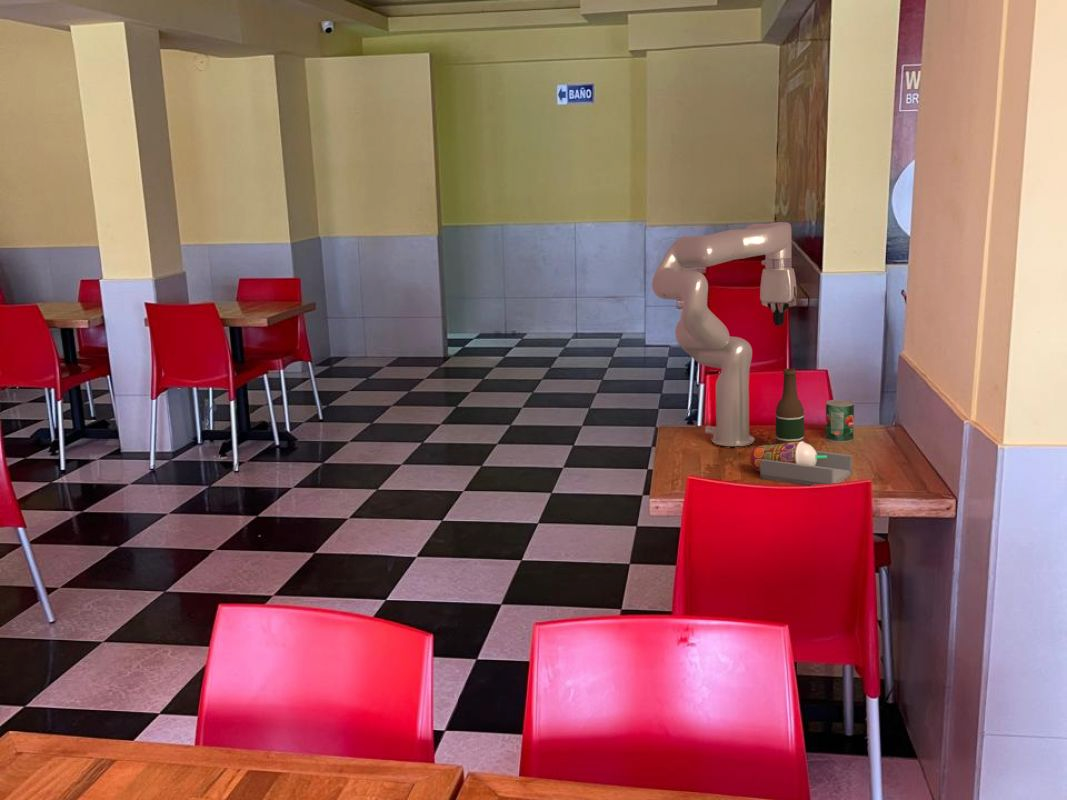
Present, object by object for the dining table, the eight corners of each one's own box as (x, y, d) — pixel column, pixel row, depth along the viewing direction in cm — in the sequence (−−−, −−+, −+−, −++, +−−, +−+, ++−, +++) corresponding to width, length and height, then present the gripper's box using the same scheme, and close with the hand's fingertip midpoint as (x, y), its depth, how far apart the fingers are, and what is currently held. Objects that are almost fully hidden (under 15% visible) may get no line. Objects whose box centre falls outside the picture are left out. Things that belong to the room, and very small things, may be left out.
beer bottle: (805, 449, 288) (805, 367, 282) (802, 457, 280) (803, 372, 275) (777, 448, 290) (777, 366, 285) (774, 455, 283) (774, 372, 278)
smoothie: (750, 438, 268) (821, 435, 256) (763, 450, 274) (834, 448, 262) (745, 467, 265) (817, 465, 253) (759, 479, 271) (830, 478, 258)
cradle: (760, 478, 263) (760, 460, 262) (782, 464, 274) (782, 446, 273) (831, 488, 252) (831, 469, 251) (851, 473, 263) (852, 455, 262)
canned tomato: (857, 441, 293) (857, 404, 290) (829, 443, 293) (830, 406, 290) (848, 434, 300) (849, 398, 298) (822, 436, 301) (822, 400, 298)
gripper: (750, 265, 303) (750, 325, 307) (797, 265, 294) (797, 328, 298) (760, 262, 309) (761, 322, 313) (807, 263, 300) (807, 324, 304)
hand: (779, 324), depth 306 cm, fingers closed
